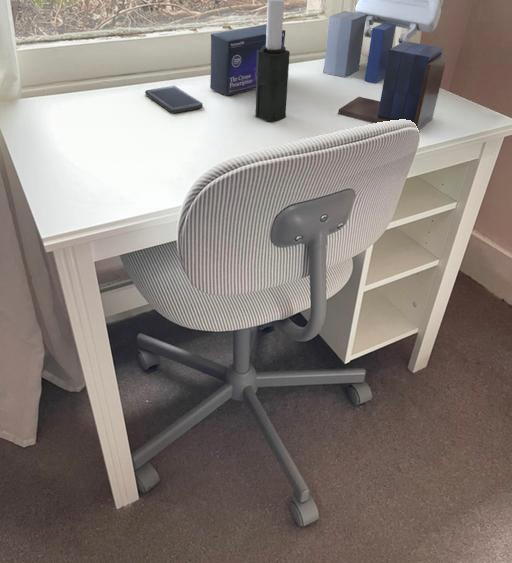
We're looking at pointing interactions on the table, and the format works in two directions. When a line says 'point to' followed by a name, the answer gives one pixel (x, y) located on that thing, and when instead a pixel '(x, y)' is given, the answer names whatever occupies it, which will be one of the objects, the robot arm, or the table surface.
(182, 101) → the cell phone
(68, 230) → the table surface
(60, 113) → the table surface
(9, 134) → the table surface
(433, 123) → the table surface
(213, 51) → the box
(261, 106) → the candle
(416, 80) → the book rack
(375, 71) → the navy book
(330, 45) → the grey upright block
